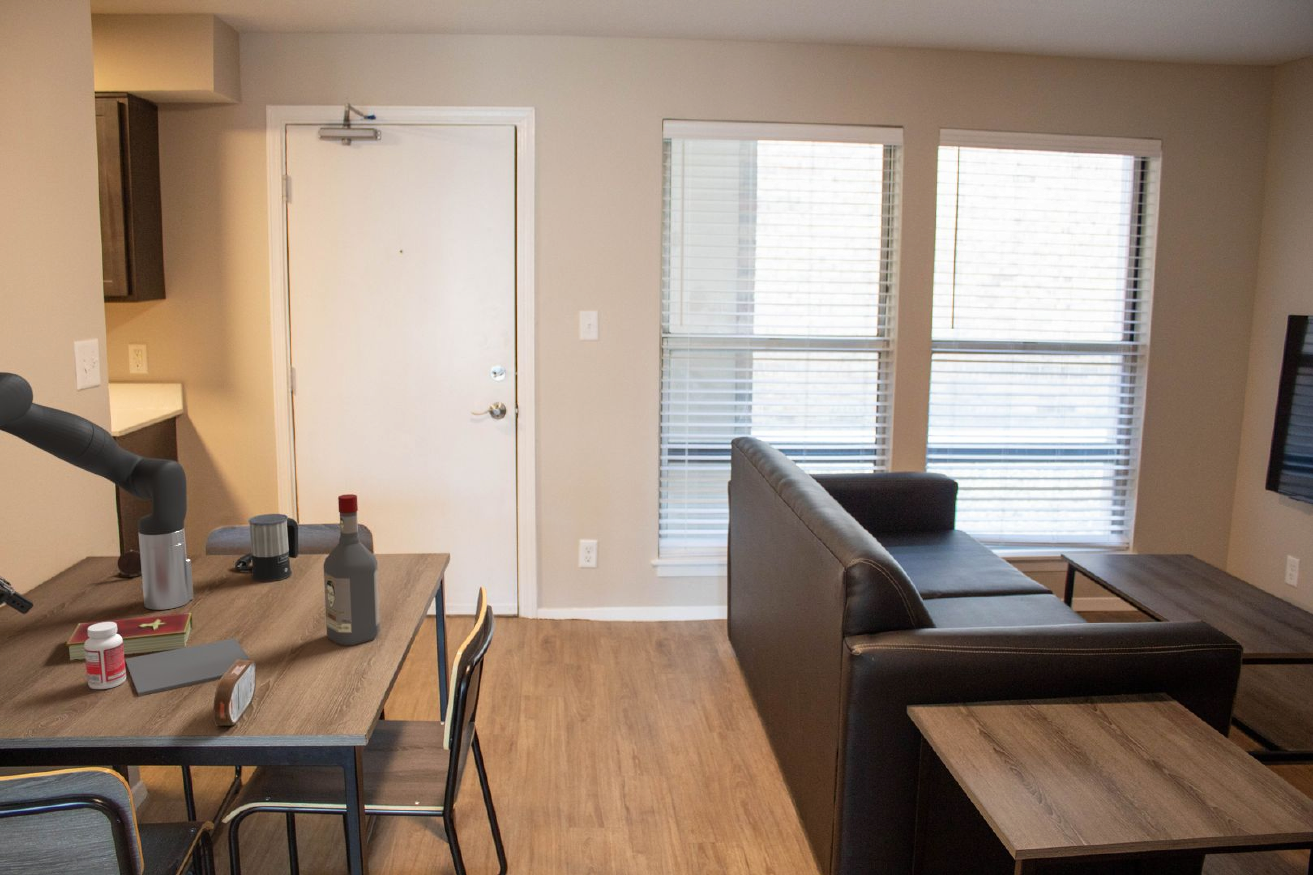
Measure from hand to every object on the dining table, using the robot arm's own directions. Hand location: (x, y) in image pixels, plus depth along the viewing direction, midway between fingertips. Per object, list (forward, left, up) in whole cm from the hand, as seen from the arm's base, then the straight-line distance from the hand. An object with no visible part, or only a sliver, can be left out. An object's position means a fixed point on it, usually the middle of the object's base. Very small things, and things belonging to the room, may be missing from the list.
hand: (29, 608), depth 172 cm
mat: (-21, +12, -16) cm, 30 cm away
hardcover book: (-24, -7, -17) cm, 30 cm away
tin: (-11, +36, -17) cm, 42 cm away
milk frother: (-69, -20, -17) cm, 74 cm away
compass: (-53, -47, -17) cm, 73 cm away
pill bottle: (-9, +5, -17) cm, 20 cm away
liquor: (-47, +29, -17) cm, 58 cm away
